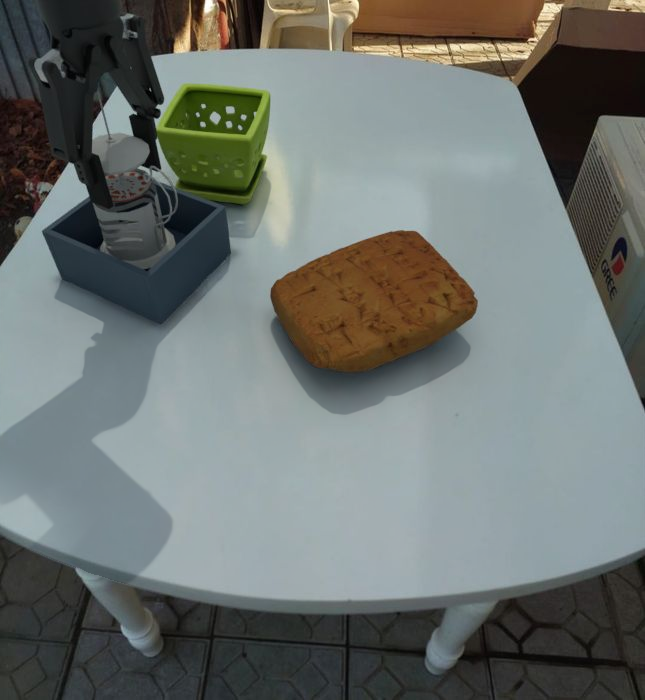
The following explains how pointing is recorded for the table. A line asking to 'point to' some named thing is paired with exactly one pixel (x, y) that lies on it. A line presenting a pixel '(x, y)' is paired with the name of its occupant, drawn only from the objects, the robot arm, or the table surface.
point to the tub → (133, 282)
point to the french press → (126, 185)
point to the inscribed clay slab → (372, 302)
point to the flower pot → (216, 140)
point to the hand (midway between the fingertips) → (127, 184)
